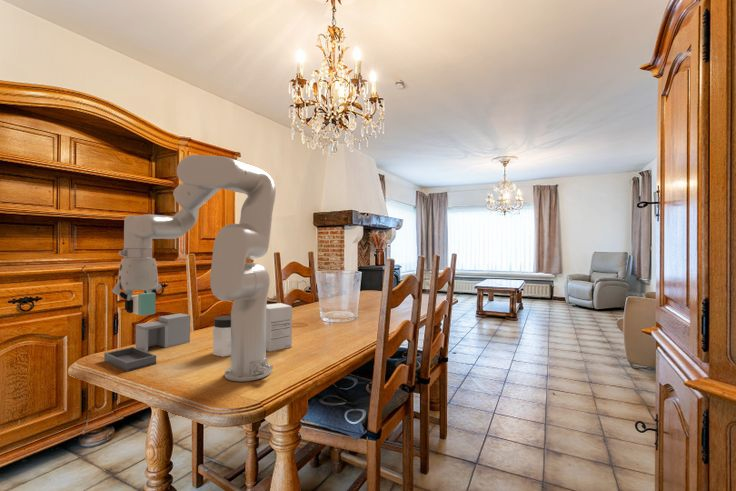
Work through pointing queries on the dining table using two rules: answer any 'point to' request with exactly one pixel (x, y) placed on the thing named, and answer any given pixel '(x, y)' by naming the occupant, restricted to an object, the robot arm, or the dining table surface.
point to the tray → (130, 358)
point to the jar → (222, 336)
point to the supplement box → (278, 326)
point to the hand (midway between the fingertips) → (137, 310)
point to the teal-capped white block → (143, 304)
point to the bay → (163, 332)
